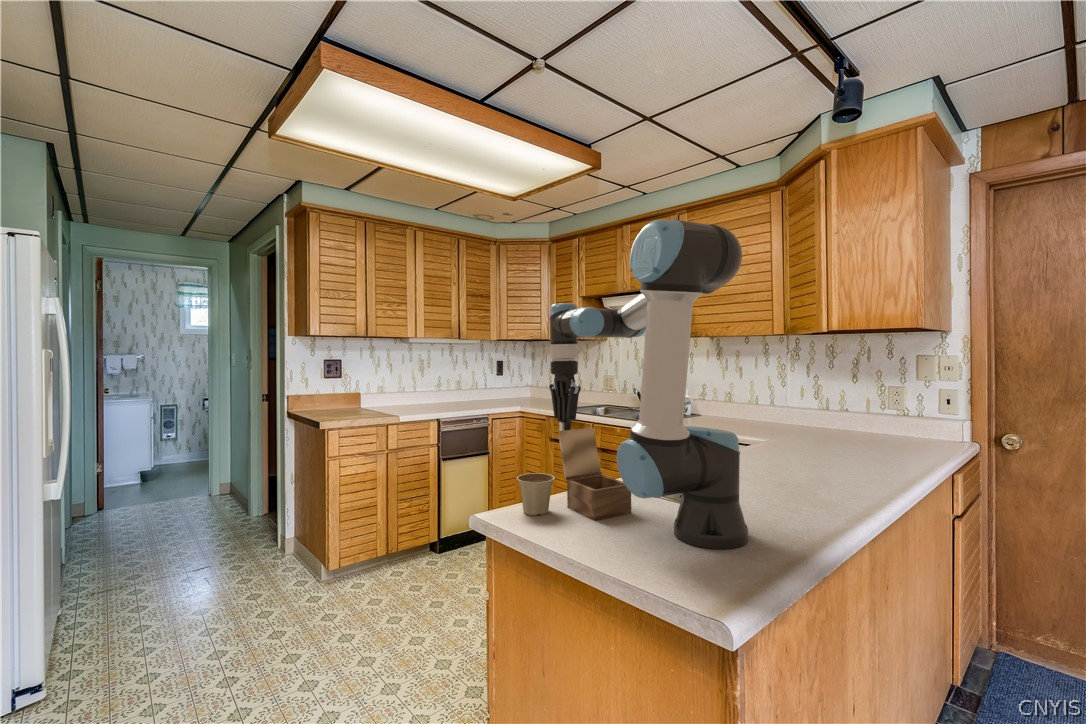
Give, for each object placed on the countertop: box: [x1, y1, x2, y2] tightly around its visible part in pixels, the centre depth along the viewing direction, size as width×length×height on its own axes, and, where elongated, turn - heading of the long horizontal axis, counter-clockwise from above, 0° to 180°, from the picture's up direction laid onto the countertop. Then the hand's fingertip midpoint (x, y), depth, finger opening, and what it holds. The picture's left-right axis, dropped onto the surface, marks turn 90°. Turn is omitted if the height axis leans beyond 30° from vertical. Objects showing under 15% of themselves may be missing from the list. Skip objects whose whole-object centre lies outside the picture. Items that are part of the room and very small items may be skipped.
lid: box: [557, 427, 603, 481], centre depth 136 cm, size 13×11×1 cm
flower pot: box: [516, 472, 555, 516], centre depth 128 cm, size 9×9×9 cm
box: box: [566, 474, 632, 522], centre depth 129 cm, size 12×11×7 cm
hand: (565, 445), depth 142 cm, fingers closed
